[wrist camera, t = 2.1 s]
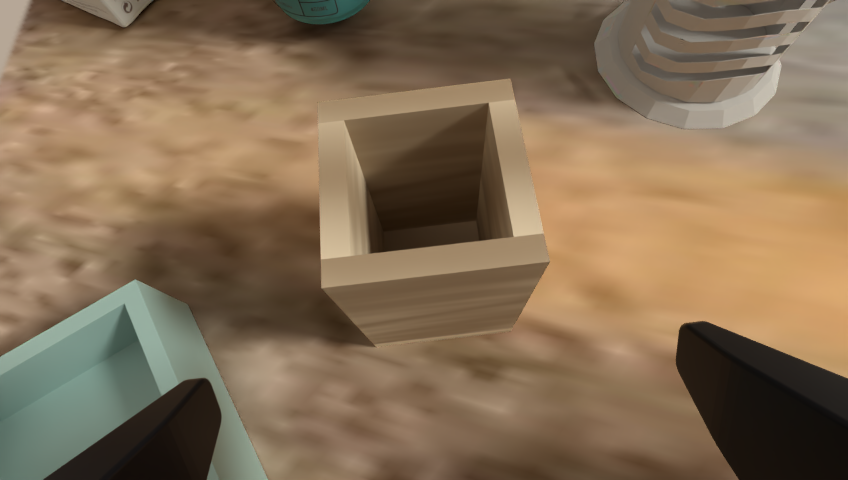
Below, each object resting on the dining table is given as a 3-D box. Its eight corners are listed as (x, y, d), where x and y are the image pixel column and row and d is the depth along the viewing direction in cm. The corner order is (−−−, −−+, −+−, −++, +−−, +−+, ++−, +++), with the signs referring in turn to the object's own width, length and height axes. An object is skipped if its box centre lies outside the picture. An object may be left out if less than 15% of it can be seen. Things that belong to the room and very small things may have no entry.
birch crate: (510, 332, 21) (550, 261, 12) (376, 347, 21) (321, 288, 12) (489, 210, 23) (510, 78, 15) (368, 225, 24) (317, 101, 15)
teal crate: (285, 517, 19) (244, 538, 15) (31, 693, 17) (-83, 764, 14) (187, 304, 22) (135, 279, 19) (-30, 433, 21) (-135, 433, 17)
